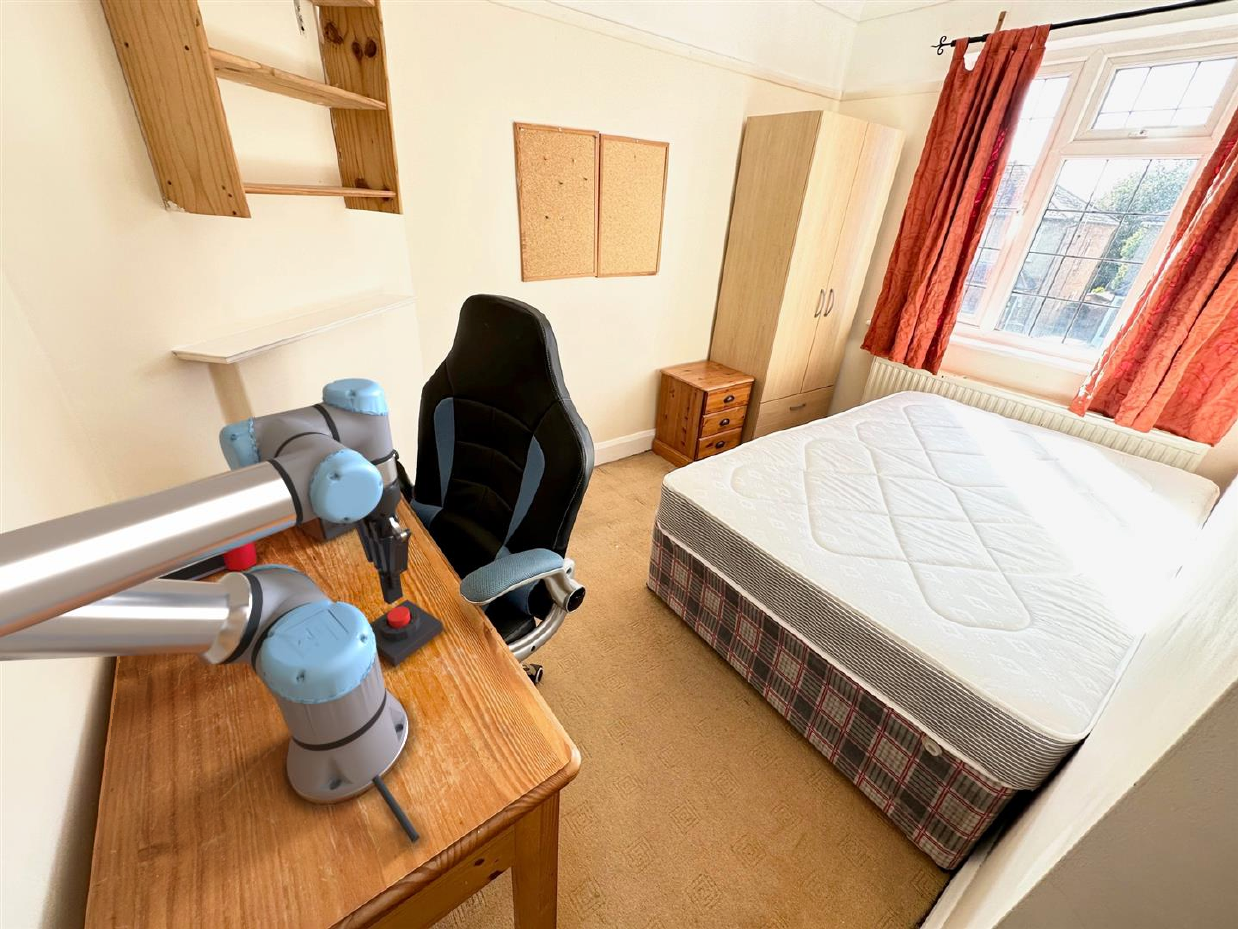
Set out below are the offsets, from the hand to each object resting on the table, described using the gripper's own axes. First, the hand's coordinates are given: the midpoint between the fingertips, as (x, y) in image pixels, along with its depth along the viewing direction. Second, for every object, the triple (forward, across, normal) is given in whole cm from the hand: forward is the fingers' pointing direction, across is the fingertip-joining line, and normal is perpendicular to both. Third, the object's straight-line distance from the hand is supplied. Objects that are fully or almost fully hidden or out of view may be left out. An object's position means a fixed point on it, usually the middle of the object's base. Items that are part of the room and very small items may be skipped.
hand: (393, 598), depth 83 cm
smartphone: (+10, +48, +15) cm, 51 cm away
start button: (+6, 0, 0) cm, 6 cm away
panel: (+9, 0, 0) cm, 9 cm away
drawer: (+8, +41, -13) cm, 44 cm away
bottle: (+9, +43, +7) cm, 45 cm away
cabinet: (+9, +45, -13) cm, 48 cm away
